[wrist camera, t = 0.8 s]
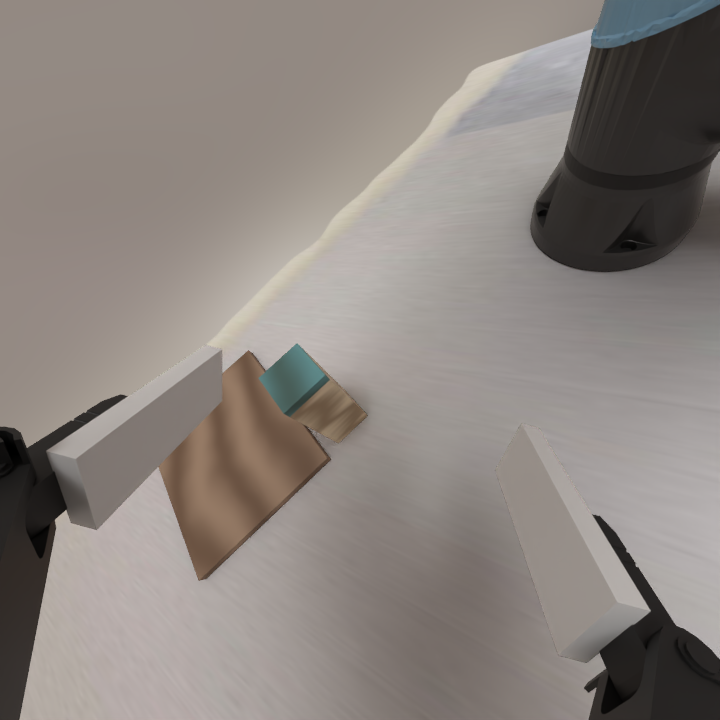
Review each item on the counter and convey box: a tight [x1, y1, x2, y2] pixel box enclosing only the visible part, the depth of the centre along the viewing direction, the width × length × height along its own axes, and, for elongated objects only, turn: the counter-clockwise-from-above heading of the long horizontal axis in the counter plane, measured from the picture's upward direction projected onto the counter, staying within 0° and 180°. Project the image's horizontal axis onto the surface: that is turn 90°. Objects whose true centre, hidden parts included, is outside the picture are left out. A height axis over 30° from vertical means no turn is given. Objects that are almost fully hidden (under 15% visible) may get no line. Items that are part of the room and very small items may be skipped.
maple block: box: [259, 344, 368, 443], centre depth 31 cm, size 4×4×12 cm
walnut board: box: [158, 350, 331, 581], centre depth 38 cm, size 18×20×1 cm
